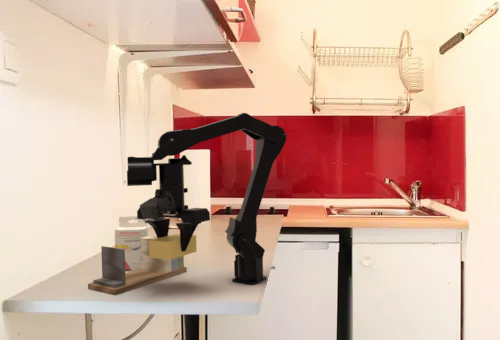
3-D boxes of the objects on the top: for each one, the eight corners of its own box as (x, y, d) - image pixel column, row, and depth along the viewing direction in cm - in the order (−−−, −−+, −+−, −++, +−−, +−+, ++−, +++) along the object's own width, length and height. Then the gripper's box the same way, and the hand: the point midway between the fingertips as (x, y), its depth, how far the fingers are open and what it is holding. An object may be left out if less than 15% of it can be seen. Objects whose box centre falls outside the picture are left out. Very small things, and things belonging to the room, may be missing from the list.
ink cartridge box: (114, 271, 122) (113, 218, 122) (119, 267, 127) (117, 216, 127) (145, 270, 123) (144, 217, 122) (149, 266, 128) (147, 215, 127)
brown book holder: (186, 271, 120) (185, 236, 120) (115, 295, 100) (114, 252, 100) (160, 267, 126) (159, 233, 125) (88, 288, 106) (86, 248, 106)
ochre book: (196, 251, 107) (196, 235, 107) (169, 260, 99) (168, 242, 99) (177, 249, 110) (176, 233, 110) (149, 257, 102) (148, 240, 102)
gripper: (118, 186, 103) (120, 252, 103) (177, 187, 92) (179, 261, 93) (153, 183, 112) (155, 244, 112) (210, 184, 102) (212, 251, 102)
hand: (173, 250), depth 105 cm, fingers closed on ochre book, 6 cm apart
